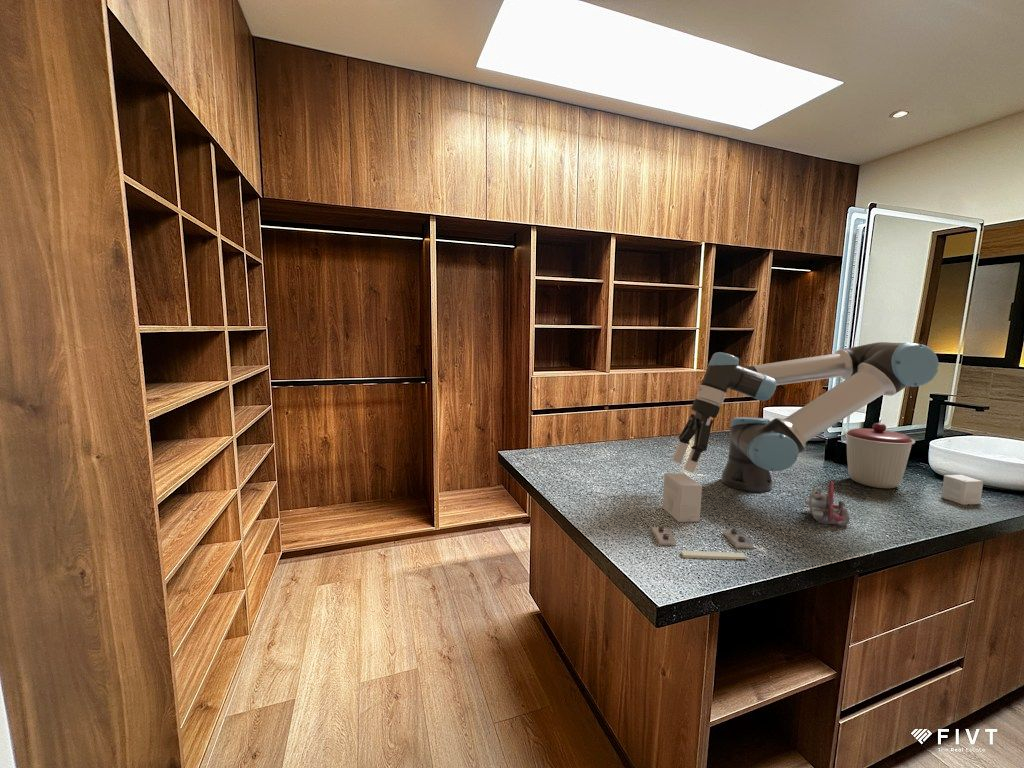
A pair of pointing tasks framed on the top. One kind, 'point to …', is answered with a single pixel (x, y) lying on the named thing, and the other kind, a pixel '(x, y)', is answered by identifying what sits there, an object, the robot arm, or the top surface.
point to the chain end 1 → (663, 536)
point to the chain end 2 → (738, 538)
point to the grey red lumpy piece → (827, 508)
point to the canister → (877, 456)
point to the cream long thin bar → (713, 555)
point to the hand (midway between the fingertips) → (682, 466)
